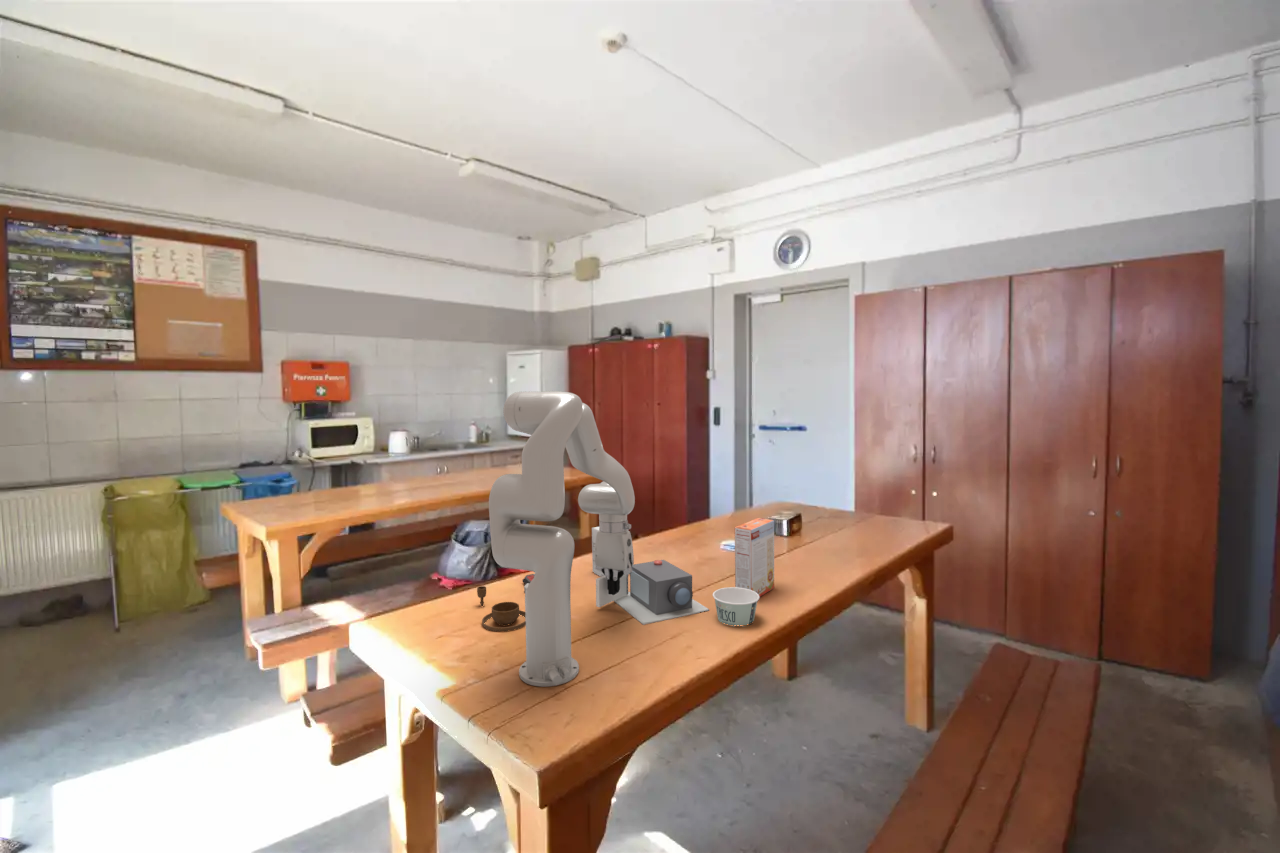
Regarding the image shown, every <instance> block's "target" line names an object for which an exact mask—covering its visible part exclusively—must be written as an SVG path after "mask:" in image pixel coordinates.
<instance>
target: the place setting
mask: <svg viewBox="0 0 1280 853" xmlns="http://www.w3.org/2000/svg"><path fill="white" fill-rule="evenodd" d="M476 594H477V598H479V599H480V602H479V605H480V606H483V605H485V602H484V598H485V597H486V596H487V586H484V585H482V586H481V585H480V586H478V587H476ZM483 607H484V606H483ZM519 614H520V615H522V616H521V617H523V616H524V617H525V610H524V611H523V610H521V609H520V604H519V603H517V602H514V601H503V602H498V603H495V604H494V605H492V607H491V612H490V613H488V614H486V615H485V616H484V617H483V618H482V620H481V623H482V627H483V628H484V629H486V630H487V629H488V631H490V630H491V632H497V631H504V632H509V631H508V630H512V631H515V630H514V629H516V630H519V629H521V628H523V627H524V626H525V627H526V620H525V621H523V622H520V623H519V624H516V625H512V624H513V623H514V622H515V621H517V620H518V619H519V616H520V615H519ZM491 617H492V618H491ZM524 617H523V618H524ZM490 618H491V619H492V620H493V622H495V623H496V624H498V625H499V624H500V625H499V626H503V625H505V626H504V627H497V626H491V625H488V624H486V623H487V620H488V619H489V620H490ZM489 620H488V621H489ZM485 622H486V623H485ZM484 623H485V624H484ZM511 623H512V624H511ZM508 624H510V625H512V626H509V625H508ZM518 628H519V629H518Z"/></svg>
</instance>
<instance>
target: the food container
mask: <svg viewBox="0 0 1280 853" xmlns="http://www.w3.org/2000/svg"><path fill="white" fill-rule="evenodd" d="M712 598H713V599H714V603H715V609H716V615H717V620H718V622H719V623H721V622H722V623H721V624H723V623H725V624H728V625H733V626H732V627H735V626H734V625H736V626H737V625H739V626H740V625H747V624H750V623H752V622H753V621H754V622H755V615H756V611H757V606H758V601H759V600H760V599H761V597H759V595H758V594H757V593H756V592H754V591H752V590H749V589H745V588H738V587H735V586H731V587H730V586H729V587H721V588H719V589H716V590H715V591H713V592H712ZM754 622H753V623H754ZM753 623H752V624H753ZM725 624H724V625H725ZM728 625H727V626H728ZM750 625H751V624H750Z"/></svg>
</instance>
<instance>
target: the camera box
mask: <svg viewBox="0 0 1280 853" xmlns="http://www.w3.org/2000/svg"><path fill="white" fill-rule="evenodd" d="M631 569H632V573H631V574H629V586H630V587H629V588H630V589H629V591H628V595H625V596H623V597H621V598H619V599H616V600H614V601H613V602H615V603H616V605H617V606H619V607H620V608H622V609H623V610H624V611H625V612H627V613H628V615H630V616H632V617H633V618H634V619H635V620H637V621H638V622H639V623H640V624H642V626H645V625H649V624H653V623H658V622H662V621H667V620H671V619H677V618H681V617H686V616H691V615H695V614H699V613H700V612H701V613H705V612H710V609H709V608H708V607H707V606H704V605H703V604H701V603H700V602H698V601H697V600H695V599H693V596H694V595H693V594H694V592H693V575H692V574H691V573H688V572H687V571H685V570H684V569H681V567H678V566H676V565H674V564H673V563H670V562H669V561H667V560H665V559H656V560H654V561H647V562H641V563H635V564H633V566H631ZM704 611H705V612H704ZM701 613H700V614H701Z"/></svg>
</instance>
